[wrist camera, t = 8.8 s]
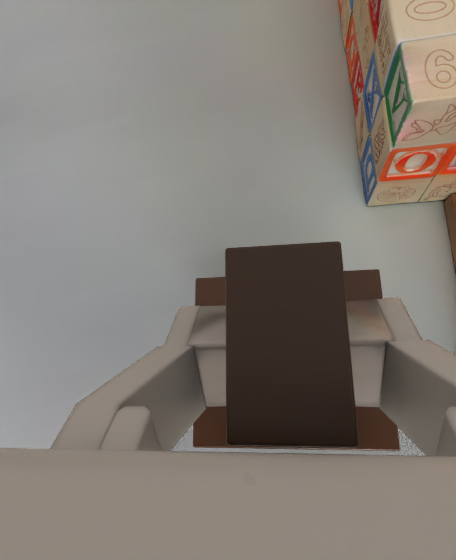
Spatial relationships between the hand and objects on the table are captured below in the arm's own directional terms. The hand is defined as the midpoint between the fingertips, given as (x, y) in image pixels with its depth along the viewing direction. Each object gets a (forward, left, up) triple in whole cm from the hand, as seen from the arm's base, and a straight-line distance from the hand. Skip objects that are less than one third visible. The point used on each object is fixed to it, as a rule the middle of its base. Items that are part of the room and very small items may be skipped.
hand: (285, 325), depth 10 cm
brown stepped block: (0, 0, -11) cm, 11 cm away
